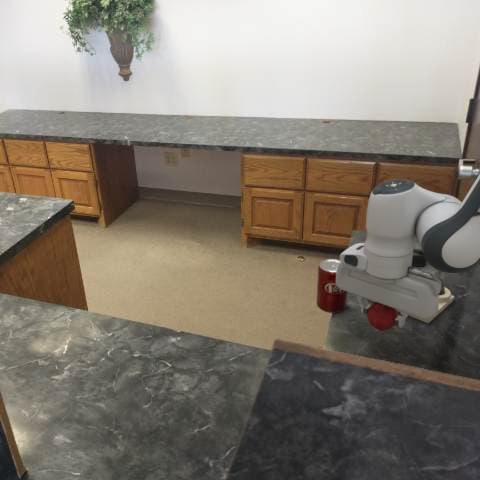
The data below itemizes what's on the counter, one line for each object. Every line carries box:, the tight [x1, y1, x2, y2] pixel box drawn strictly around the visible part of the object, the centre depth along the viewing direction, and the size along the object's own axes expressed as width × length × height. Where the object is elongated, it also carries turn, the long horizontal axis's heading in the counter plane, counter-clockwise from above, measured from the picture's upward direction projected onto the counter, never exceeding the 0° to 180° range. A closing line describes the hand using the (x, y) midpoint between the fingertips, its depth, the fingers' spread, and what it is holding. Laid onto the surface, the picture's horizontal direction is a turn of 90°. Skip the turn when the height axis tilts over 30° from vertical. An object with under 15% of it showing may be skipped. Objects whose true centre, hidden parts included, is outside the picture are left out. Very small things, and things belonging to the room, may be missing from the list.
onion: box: [366, 302, 398, 332], centre depth 106 cm, size 6×6×8 cm
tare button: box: [439, 284, 446, 295], centre depth 126 cm, size 3×3×2 cm
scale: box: [368, 286, 455, 324], centre depth 128 cm, size 15×13×3 cm
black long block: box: [412, 248, 427, 268], centre depth 144 cm, size 5×3×15 cm
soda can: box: [316, 258, 348, 314], centre depth 128 cm, size 7×7×12 cm
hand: (382, 319), depth 106 cm, fingers closed on onion, 6 cm apart
